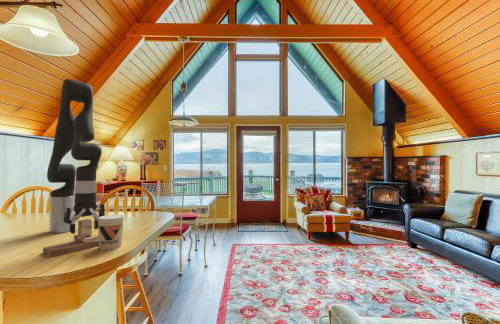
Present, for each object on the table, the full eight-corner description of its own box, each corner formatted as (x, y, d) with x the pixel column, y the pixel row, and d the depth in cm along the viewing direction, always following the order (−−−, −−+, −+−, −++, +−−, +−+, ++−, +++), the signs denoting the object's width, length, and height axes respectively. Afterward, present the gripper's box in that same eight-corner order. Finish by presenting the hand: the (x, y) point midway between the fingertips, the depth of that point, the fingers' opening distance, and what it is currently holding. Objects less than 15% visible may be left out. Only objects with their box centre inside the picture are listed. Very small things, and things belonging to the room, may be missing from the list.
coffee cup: (94, 251, 92) (95, 219, 93) (99, 244, 101) (99, 215, 101) (122, 248, 96) (123, 218, 96) (124, 242, 105) (125, 213, 105)
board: (42, 252, 91) (43, 247, 91) (100, 239, 107) (100, 235, 107) (50, 257, 86) (50, 251, 86) (109, 243, 103) (109, 238, 103)
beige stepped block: (73, 243, 101) (74, 220, 101) (86, 240, 105) (87, 218, 105) (83, 247, 95) (84, 223, 96) (96, 244, 99) (97, 220, 100)
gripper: (99, 189, 109) (98, 226, 109) (61, 192, 97) (60, 233, 97) (108, 190, 105) (107, 229, 104) (69, 193, 93) (68, 236, 93)
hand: (84, 231), depth 101 cm, fingers open, 8 cm apart
